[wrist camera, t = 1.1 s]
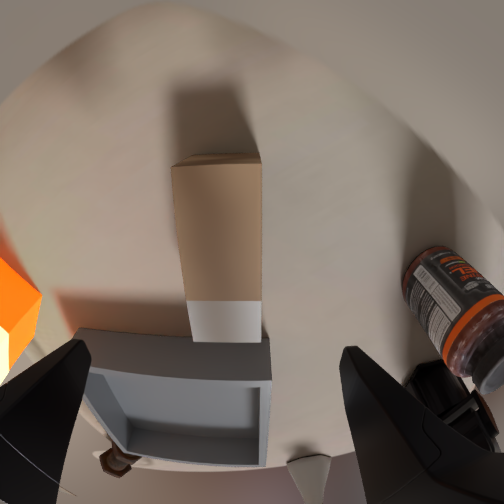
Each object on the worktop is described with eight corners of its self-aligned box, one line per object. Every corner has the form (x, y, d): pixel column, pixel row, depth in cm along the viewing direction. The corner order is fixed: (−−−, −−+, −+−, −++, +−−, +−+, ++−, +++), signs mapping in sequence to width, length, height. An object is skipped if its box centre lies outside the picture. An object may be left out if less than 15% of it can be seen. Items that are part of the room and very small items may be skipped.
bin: (269, 338, 22) (271, 380, 18) (264, 436, 30) (265, 466, 26) (79, 327, 23) (58, 359, 18) (131, 425, 30) (123, 452, 26)
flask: (295, 472, 37) (300, 521, 28) (278, 461, 34) (281, 517, 25) (336, 462, 35) (345, 512, 26) (324, 450, 33) (333, 508, 24)
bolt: (146, 421, 33) (122, 449, 37) (113, 421, 29) (96, 449, 34) (159, 457, 29) (132, 477, 33) (124, 460, 25) (105, 479, 30)
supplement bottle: (463, 245, 19) (551, 324, 9) (442, 304, 21) (506, 393, 11) (410, 240, 19) (505, 338, 9) (390, 307, 21) (450, 416, 11)
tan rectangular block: (259, 152, 16) (261, 163, 12) (259, 295, 21) (261, 342, 16) (193, 155, 16) (170, 167, 12) (204, 295, 21) (193, 341, 16)
